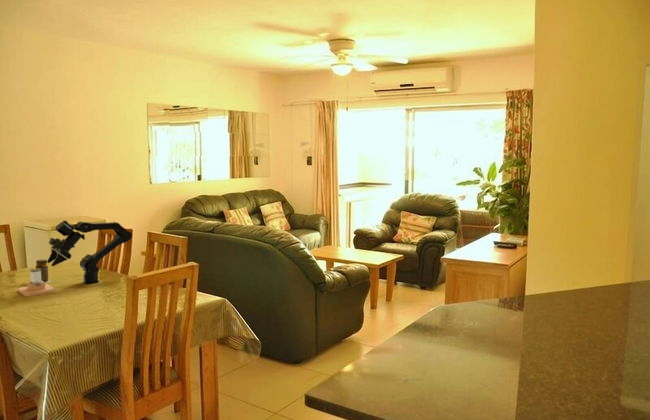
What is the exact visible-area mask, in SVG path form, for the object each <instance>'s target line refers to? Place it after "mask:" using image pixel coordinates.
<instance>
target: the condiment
mask: <svg viewBox="0 0 650 420" xmlns="http://www.w3.org/2000/svg"><path fill="white" fill-rule="evenodd" d="M47 261H48V259H37V260H36V261H35V262H36V263H35V264H36V265H35V269H41V280H42V281H43V282H45V284H48V283H52V280H50V279H49V265H48V263H47Z"/></svg>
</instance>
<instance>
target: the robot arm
mask: <svg viewBox="0 0 650 420" xmlns="http://www.w3.org/2000/svg"><path fill="white" fill-rule="evenodd" d="M54 229H55V231H56V232H57V233H59V234H61V235H62V236H63V237H65V238H62V240H61V239H60V238H57V237H56V238H53V237H50V239H49V241H48V244H49V245H51V247H50V251H51V252H50V255H49V257H48V259H47V264H50V263H51V262H52V263H51V264H50V265H51V267H55V266H57V265H58V264H61V263H63V262H65V261H68V260H70V259H71V258H72V254H71V253H70V251H71V250H72V249H74V248H75V247H76V246H75V245H76V244H77V243H78V242H79V240H80V239H82V240H84V241H85V240H86V238H85V236H86V235H85V234H86V233H91V232H94V231H101V230H102V231H104V230H113V232H114V233H115V235H114V238H113V239H112V240H111V241H109V242H107V243H106V244H105V245H104V246H102V247H101V248H100V249H98V250H97V251H96V252H95V253H93V254H86V255H85V256H84V257H82V258H81V260H80V261H79V266H80V268H81V269H82V270H83V272H84V273H83V283H85V284H87V285H90V284H97V283H99V282H100V280H99V272H100V267H98V266H97V265H98V263H99V262H100V260H102V259H103V258H104V257H106V256H107V255H109V253H111V252H112V251H113V250H114V249H116V248H117V247H118V246H120V245H122V244H126V243H127V242H129V241H130V240H132V238H133V235H132V234H133V233H132V232H131V231H128V230H127V229H126V228H124V226H122V224H120V223H119V222H117V221H113V222H112V221H111V222H89V221H88V222H87V221H82V220H81V221H78V222H77V223H75V224H72V225H71V224H70V223H69V222H68V221H67V220H63V221H61V222H60V223H59V224H57V225H56V227H55V228H54ZM66 236H67V237H66Z"/></svg>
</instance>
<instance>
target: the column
mask: <svg viewBox="0 0 650 420" xmlns="http://www.w3.org/2000/svg"><path fill="white" fill-rule="evenodd" d="M29 275H30V282H31V283H32V284H35V283H42V282H41V269H36V268H34V269H29Z"/></svg>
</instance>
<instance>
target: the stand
mask: <svg viewBox="0 0 650 420" xmlns="http://www.w3.org/2000/svg"><path fill="white" fill-rule="evenodd" d="M41 282H42V283H35V284H32V283H31V281H27V286H24V287H19V288H17V291H18V293H20V295H22V296H23V297H24V298H26V297H27V298H28V297H33V296H39V295H44V294H51V293H52V294H53V293H56V288H54V286H51V285H50V284H48V283H45V282H43V281H42V280H41Z"/></svg>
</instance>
